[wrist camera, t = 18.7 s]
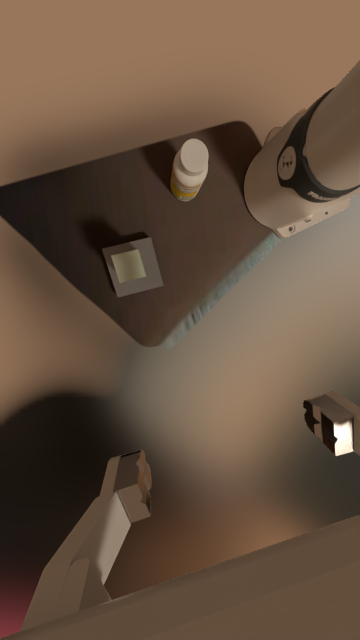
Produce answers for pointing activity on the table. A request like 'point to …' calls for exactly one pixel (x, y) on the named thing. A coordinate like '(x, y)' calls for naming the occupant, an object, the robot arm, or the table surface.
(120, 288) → the gray rectangular slab
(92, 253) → the table surface
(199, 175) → the supplement bottle
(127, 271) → the sage block
